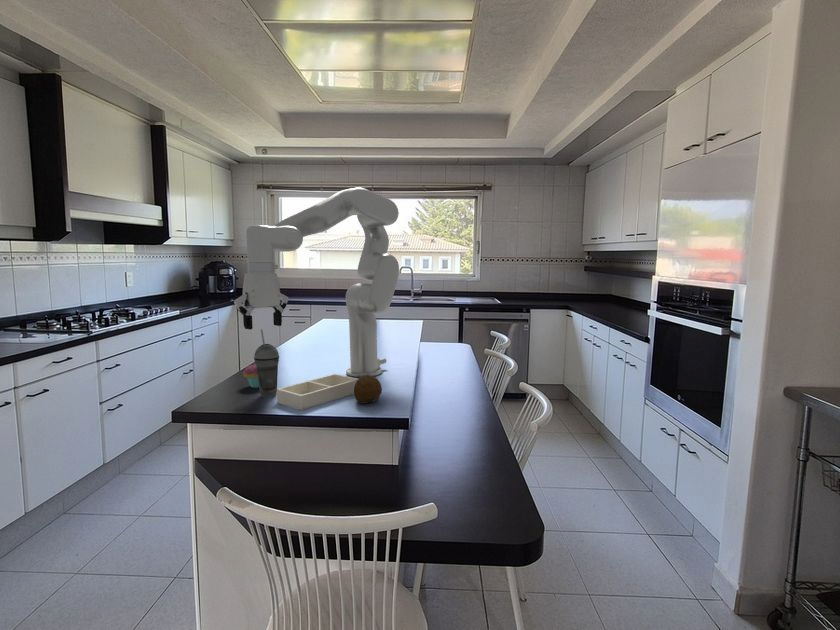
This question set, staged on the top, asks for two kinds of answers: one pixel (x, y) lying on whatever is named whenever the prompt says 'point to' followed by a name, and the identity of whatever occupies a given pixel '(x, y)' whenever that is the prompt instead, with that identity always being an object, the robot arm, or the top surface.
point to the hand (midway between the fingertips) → (263, 327)
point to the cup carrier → (316, 391)
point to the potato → (367, 389)
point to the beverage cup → (267, 368)
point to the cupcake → (251, 375)
